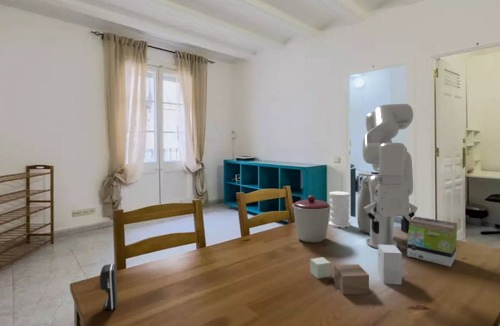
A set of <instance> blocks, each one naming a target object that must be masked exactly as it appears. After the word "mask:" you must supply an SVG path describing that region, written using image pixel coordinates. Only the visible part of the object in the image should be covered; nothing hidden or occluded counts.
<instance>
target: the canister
mask: <svg viewBox="0 0 500 326" xmlns="http://www.w3.org/2000/svg"><path fill="white" fill-rule="evenodd" d="M330 204H331V203H328V202H327V201H324V200H319V199H316V197H315V196H314V195H308V196H307V199H302V200H301V199H300V200H298V201H295V202H294V203H292V205H291V206H292V208H293V216H294V222H295V231H296V235H297V238H298V239H299V240H301V241H303V242H306V243H313V244H314V243H321V242H323V241H325V240H326V239H327V238H326V237H327V234H328V228H329V227H328V226H329V219H330V210H331V205H330Z"/></svg>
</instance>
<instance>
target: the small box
mask: <svg viewBox="0 0 500 326" xmlns="http://www.w3.org/2000/svg"><path fill="white" fill-rule="evenodd" d="M377 251H378V252H377V274H378V275H379V278H380V279H381V281H382V283H383V284H384V285H400V286H402V283H403V271H402V270H403V253H402V252H401V251H400V249H399V248H398V246H397V247H396V246H395V245H380V244H379V245H378V248H377Z"/></svg>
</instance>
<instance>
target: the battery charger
mask: <svg viewBox="0 0 500 326" xmlns="http://www.w3.org/2000/svg"><path fill="white" fill-rule="evenodd" d="M117 281H118V280H117V265H116V263H109V264H104V265H103V266H102V267H101V270H100V275H99V289H100V291H105V293H106V294H107V295H108V296H107V298H106V299H105V300H104V305H103V309H104V310H105V309H110V310H114V309H113V308H115V309H116V308H117V303H118V302H117V301H118V285H117V284H118V283H117Z"/></svg>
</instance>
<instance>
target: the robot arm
mask: <svg viewBox="0 0 500 326" xmlns="http://www.w3.org/2000/svg"><path fill="white" fill-rule="evenodd" d="M413 119H414V111H413V108H412V105H410V104H408V103H393V104H390V103H389V104H382V105H379V106H377V107H376V108H375V109H374V111H373V112H370V113H368V114H367V115H366V117H365V126H366V132H367V133H366V134H365V136H364V138H363V139H362V159H363V160H364V161H363V162H365V163H366V164H368V165H369V164H370V165H372V169H373V170H374V171H375V172H378V173H377V174H373V175H371V176H370V177H369V191H370V204H369V205H368V206H366V207H364V210H365V212H366V214H367V216H368V217H369V218H370V233H368V234H369V238H367V239H366V242H365V243H366V244H367V245H368V246H369V247H370V248H371V247H372V248H373V249H378V245H379V244H380V245H395V246H396V247H397V248H398V243H397V242H396V241H395V240H394V233H395V232H394V227H395V226H394V225H395V223H394V221H395V217H401V219H400V231H401V232H403V233H405V234H408V230H409V221H411V219H413V218H414V217H415V216H416V215H415V214H416V212H417V211H418V206H415V205H414V204H412V203H410V196H411V195H413V193H414V175H413V174H414V172H413V171H414V170H413V162H412V161H413V158H412V156H411V153H410V152H408V148H407V147H406V146H405V145H406V144H404V143H402V142H393V140H392V139H394V138H395V137H396V136H398V135H397V134H398V133H399V130H406V129H407V128H408V127H409V126H410V125H411V123H412V122H413Z"/></svg>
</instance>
